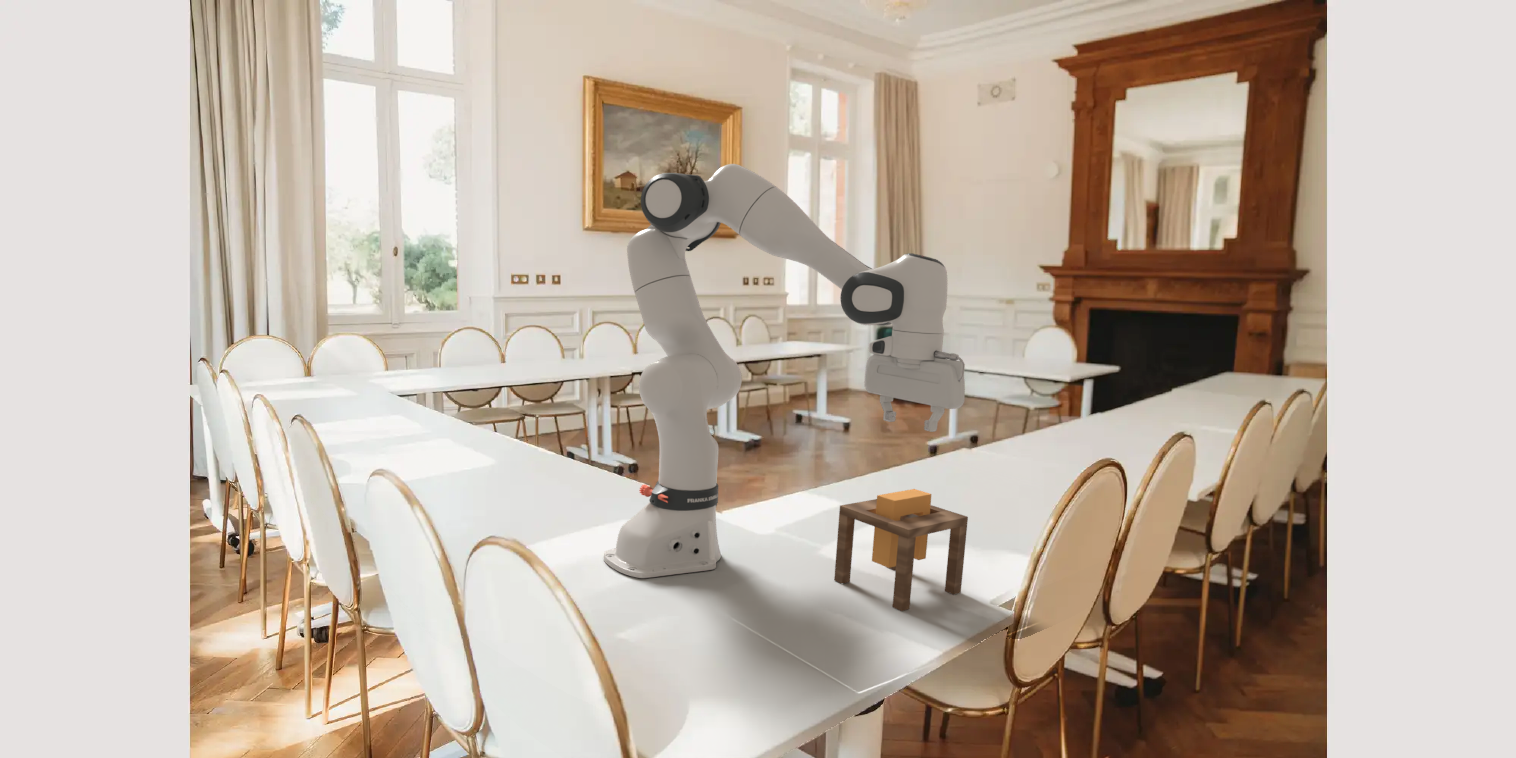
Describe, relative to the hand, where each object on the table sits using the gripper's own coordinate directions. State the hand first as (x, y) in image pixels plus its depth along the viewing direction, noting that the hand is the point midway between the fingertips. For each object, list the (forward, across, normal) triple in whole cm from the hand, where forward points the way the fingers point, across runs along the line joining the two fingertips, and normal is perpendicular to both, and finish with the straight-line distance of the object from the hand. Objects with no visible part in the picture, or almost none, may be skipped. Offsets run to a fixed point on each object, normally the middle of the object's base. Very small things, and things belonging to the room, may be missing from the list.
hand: (909, 425), depth 145 cm
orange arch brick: (+24, -1, 0) cm, 24 cm away
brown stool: (+29, -1, 0) cm, 29 cm away
